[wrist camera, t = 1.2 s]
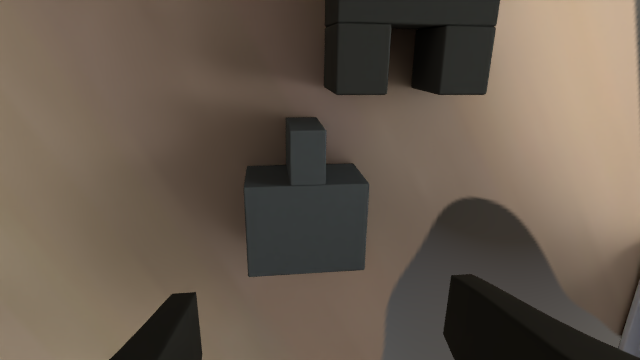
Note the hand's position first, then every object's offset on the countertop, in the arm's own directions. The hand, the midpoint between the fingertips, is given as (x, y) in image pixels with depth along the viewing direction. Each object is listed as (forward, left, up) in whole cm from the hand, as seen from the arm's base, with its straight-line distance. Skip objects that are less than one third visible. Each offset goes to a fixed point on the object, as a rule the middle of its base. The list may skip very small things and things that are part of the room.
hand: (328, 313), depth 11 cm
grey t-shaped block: (+1, 0, -8) cm, 8 cm away
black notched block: (+8, -4, -8) cm, 13 cm away
